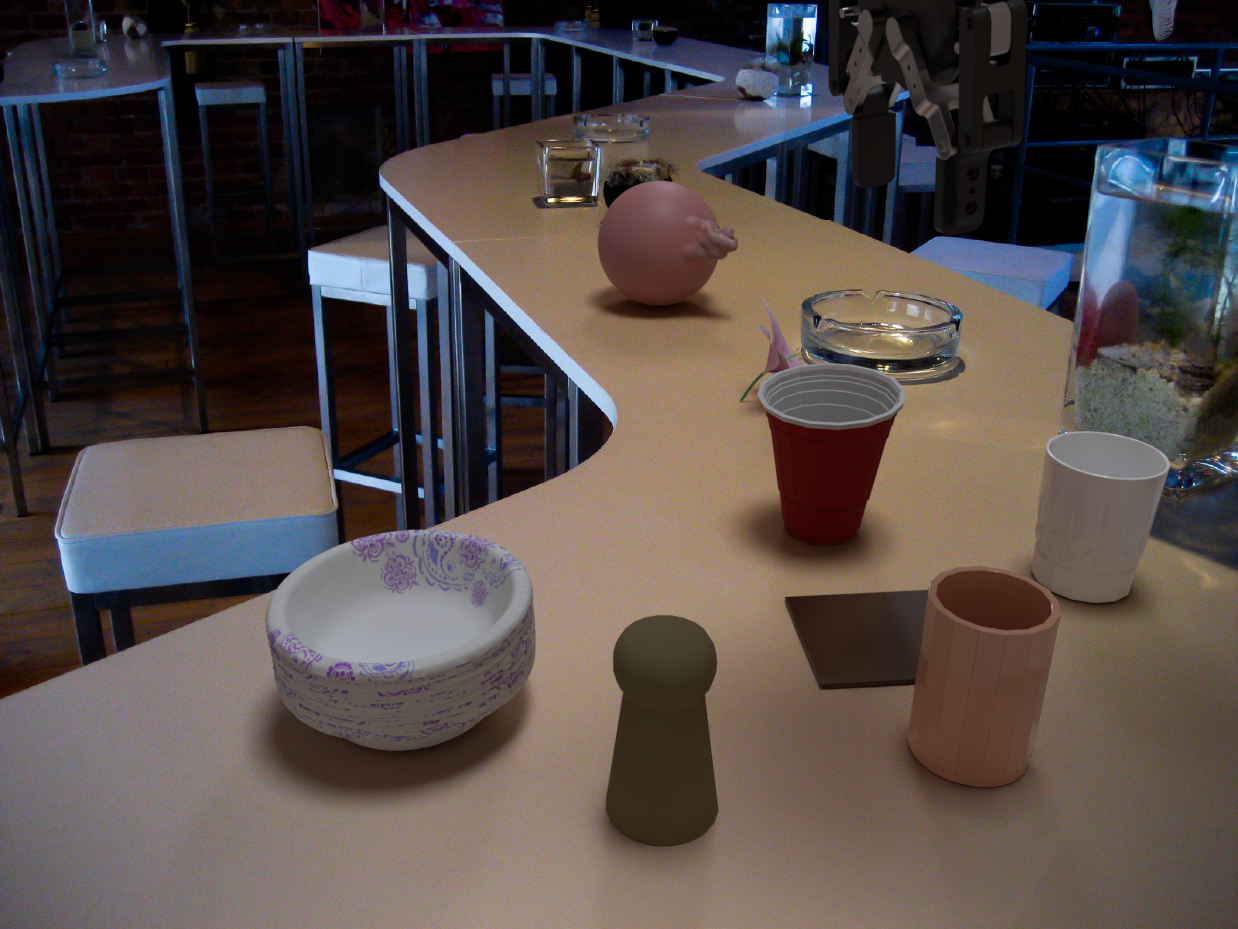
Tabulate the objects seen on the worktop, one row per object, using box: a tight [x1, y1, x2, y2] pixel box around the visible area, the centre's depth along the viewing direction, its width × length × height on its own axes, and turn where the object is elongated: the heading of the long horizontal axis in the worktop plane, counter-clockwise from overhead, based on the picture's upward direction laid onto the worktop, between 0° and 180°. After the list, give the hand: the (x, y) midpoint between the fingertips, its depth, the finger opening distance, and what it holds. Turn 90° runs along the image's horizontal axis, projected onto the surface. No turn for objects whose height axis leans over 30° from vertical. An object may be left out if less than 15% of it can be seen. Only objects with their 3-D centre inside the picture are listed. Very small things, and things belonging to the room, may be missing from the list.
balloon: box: [597, 180, 739, 307], centre depth 135 cm, size 15×20×15 cm
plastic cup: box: [756, 362, 906, 547], centre depth 83 cm, size 11×11×12 cm
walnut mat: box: [784, 589, 928, 690], centre depth 72 cm, size 14×10×1 cm
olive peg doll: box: [605, 614, 719, 846], centre depth 56 cm, size 6×6×11 cm
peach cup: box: [907, 565, 1062, 788], centre depth 60 cm, size 7×7×10 cm
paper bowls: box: [264, 529, 537, 752], centre depth 64 cm, size 15×15×8 cm
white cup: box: [1031, 430, 1171, 604], centre depth 76 cm, size 8×8×10 cm
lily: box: [739, 295, 807, 402], centre depth 108 cm, size 12×12×10 cm
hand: (912, 205), depth 55 cm, fingers open, 8 cm apart
